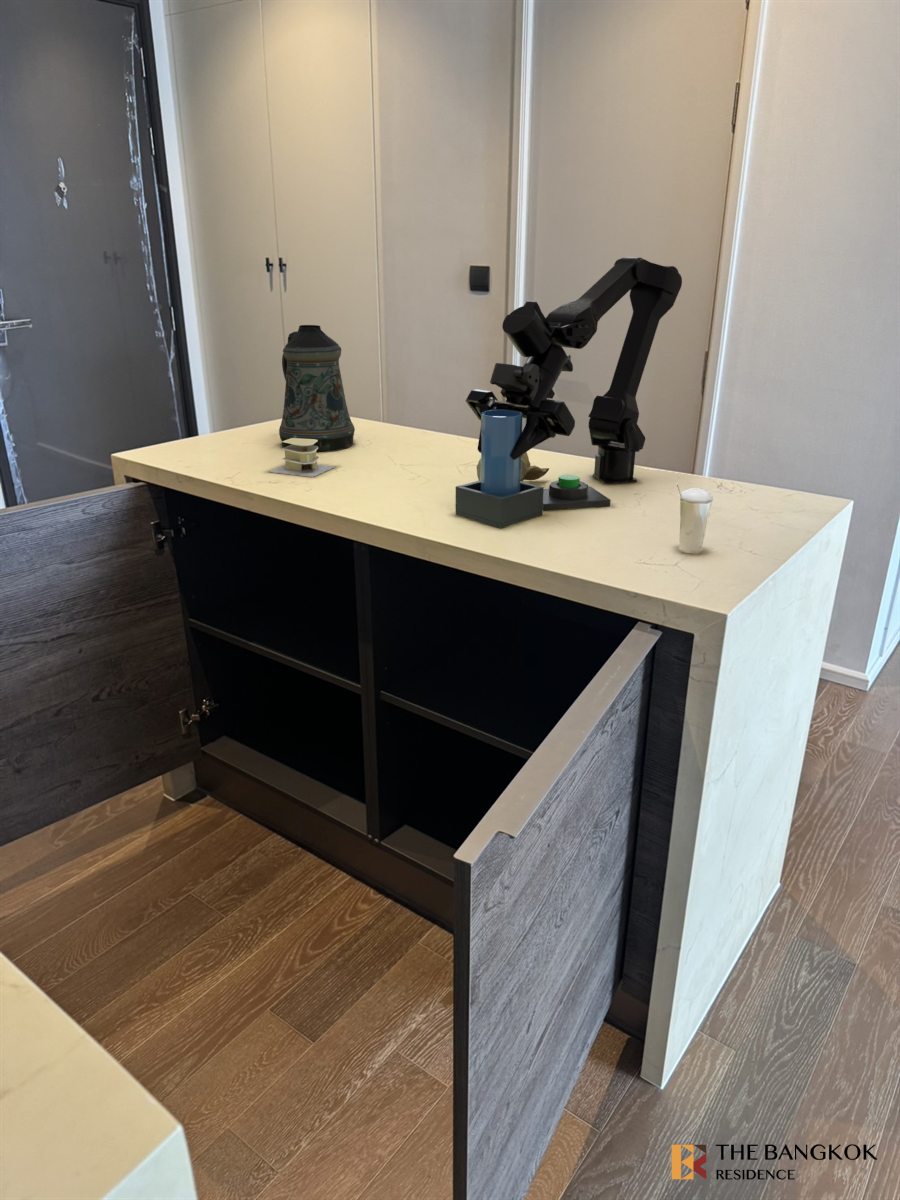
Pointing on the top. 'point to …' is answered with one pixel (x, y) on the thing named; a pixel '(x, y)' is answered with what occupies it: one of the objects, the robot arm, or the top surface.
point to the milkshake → (693, 518)
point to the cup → (500, 452)
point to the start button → (569, 481)
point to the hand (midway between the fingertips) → (495, 454)
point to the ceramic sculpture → (523, 469)
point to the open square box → (499, 504)
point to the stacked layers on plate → (301, 458)
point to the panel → (572, 497)
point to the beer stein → (314, 391)
